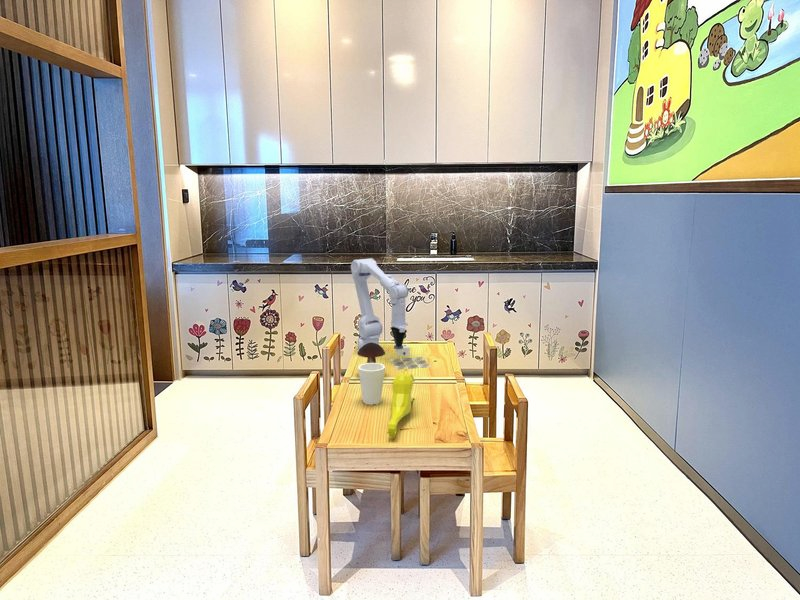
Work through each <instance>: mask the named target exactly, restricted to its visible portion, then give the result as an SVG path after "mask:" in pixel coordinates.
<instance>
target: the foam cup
mask: <svg viewBox="0 0 800 600" xmlns="http://www.w3.org/2000/svg"><path fill="white" fill-rule="evenodd" d="M385 374H386V367H385V365H384V364H383V363H380V362H379V363H378V362H376V363H367V362H366V363H362V364H360V365H358V376H359V377H358V378H359V383H360V390H361V397H362V401H363V402H364V403H365V404H364V405H367V404H370V405H369V406H374V405H373V404H376V405H379V404H381V401H382V393H383V387H384V379H385ZM363 402H362V403H363ZM378 403H379V404H378Z"/></svg>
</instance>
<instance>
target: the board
mask: <svg viewBox="0 0 800 600" xmlns="http://www.w3.org/2000/svg"><path fill="white" fill-rule="evenodd" d="M389 361H390V362H391V363H392V365H393V366H394V368H395V369H396V370H404V369H405V368H407V370H410V369H411V370H412V369H425V368H432V366H431V365H430V364H429V363H428V362H427V361H426V360H425V359H424V358H423V356H417V357H416V356H415V357H401V358H400V357H399V358H390V359H389Z"/></svg>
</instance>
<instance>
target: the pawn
mask: <svg viewBox="0 0 800 600" xmlns="http://www.w3.org/2000/svg"><path fill="white" fill-rule="evenodd" d="M393 349H395V350H396V349H403V346H397V345H396V338H395V341H394V345H393Z"/></svg>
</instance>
